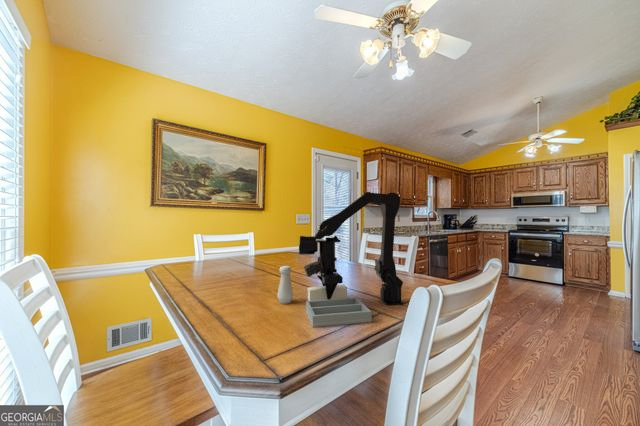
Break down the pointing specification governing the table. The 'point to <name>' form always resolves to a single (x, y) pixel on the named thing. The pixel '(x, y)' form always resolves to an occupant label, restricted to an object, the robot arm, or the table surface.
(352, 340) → the table surface
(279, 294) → the salt shaker
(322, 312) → the divided grey tray
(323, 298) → the cream rectangular block
